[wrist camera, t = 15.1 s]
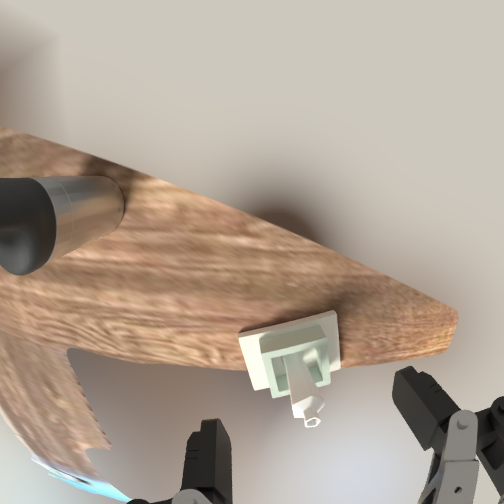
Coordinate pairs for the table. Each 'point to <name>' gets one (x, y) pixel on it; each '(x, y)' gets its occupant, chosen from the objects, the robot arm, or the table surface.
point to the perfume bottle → (302, 389)
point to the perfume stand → (292, 351)
